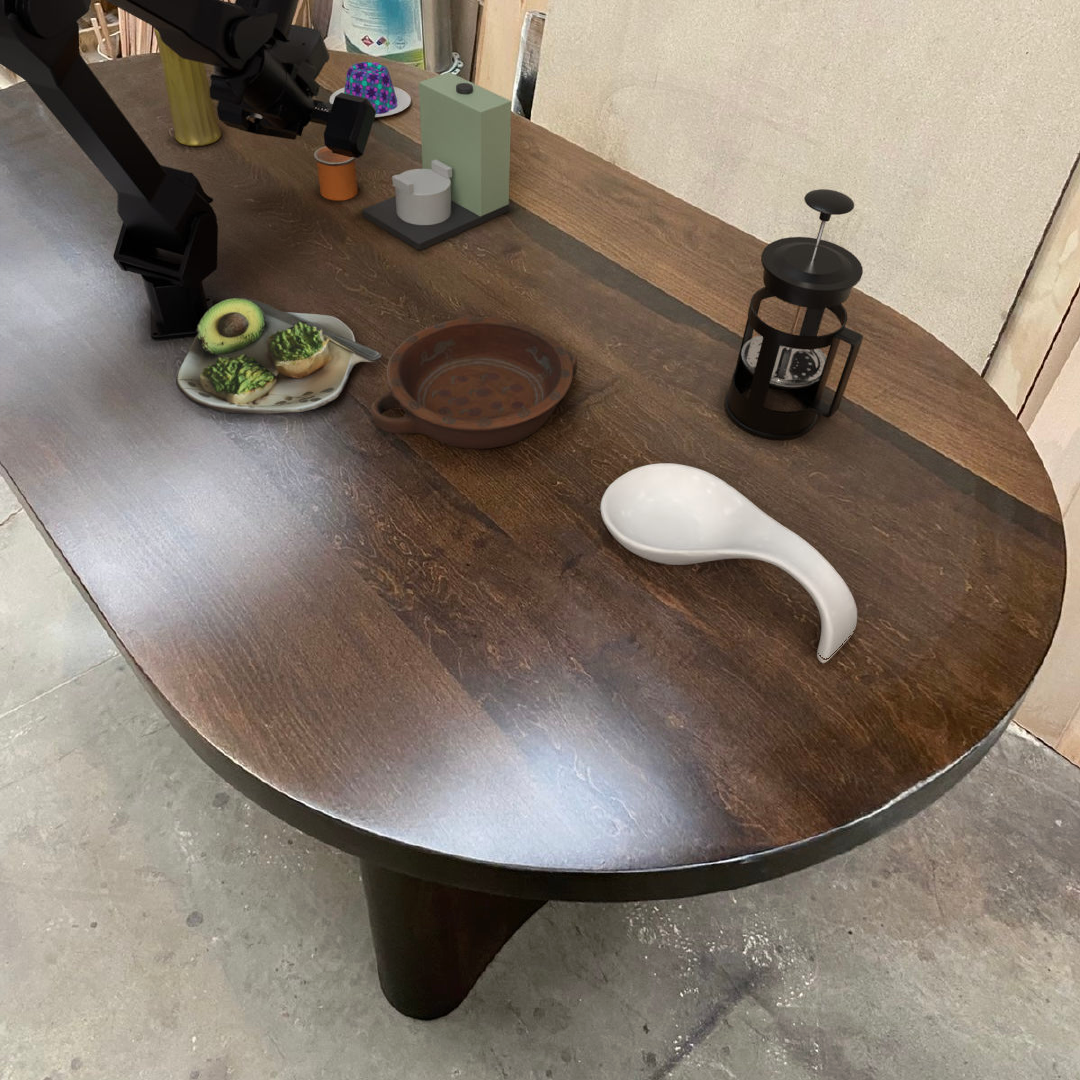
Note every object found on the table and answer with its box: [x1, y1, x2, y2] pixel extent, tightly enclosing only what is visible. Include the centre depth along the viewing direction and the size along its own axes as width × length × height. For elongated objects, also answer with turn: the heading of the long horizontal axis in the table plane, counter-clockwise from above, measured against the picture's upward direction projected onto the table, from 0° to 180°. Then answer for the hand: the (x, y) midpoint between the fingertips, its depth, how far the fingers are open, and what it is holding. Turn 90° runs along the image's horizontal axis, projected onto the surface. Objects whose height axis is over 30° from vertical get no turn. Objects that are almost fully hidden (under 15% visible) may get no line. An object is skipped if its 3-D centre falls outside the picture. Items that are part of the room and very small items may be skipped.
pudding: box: [328, 61, 412, 118], centre depth 142 cm, size 12×12×5 cm
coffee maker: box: [361, 72, 512, 252], centre depth 117 cm, size 15×11×15 cm
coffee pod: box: [313, 145, 359, 201], centre depth 123 cm, size 5×5×5 cm
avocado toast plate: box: [175, 297, 382, 415], centre depth 97 cm, size 19×18×5 cm
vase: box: [153, 27, 222, 147], centre depth 129 cm, size 6×6×14 cm
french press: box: [723, 188, 864, 441], centre depth 89 cm, size 12×9×23 cm
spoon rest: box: [600, 462, 858, 664], centre depth 80 cm, size 24×12×7 cm, turn 48°
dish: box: [370, 316, 578, 450], centre depth 94 cm, size 18×22×5 cm
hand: (327, 143), depth 119 cm, fingers open, 9 cm apart
